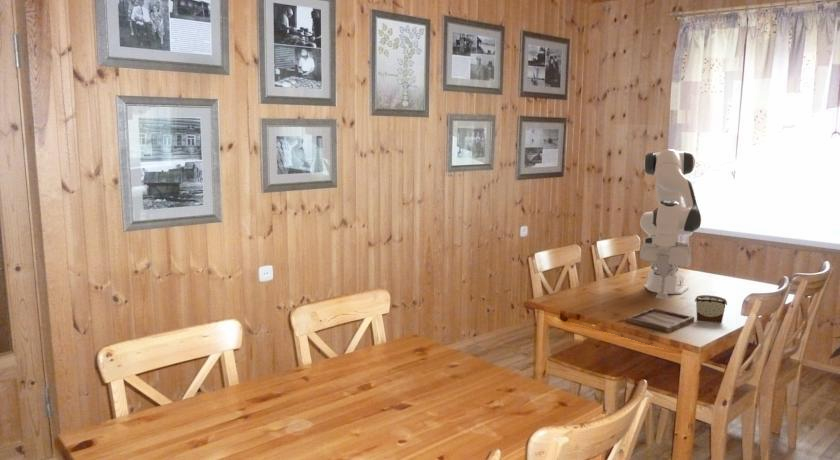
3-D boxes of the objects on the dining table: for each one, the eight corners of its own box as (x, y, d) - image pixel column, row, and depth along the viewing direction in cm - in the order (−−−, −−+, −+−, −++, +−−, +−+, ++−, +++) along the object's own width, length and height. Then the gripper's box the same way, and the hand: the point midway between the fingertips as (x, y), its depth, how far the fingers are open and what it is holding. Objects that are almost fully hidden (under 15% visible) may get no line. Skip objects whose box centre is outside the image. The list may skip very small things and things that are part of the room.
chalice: (667, 295, 260) (670, 253, 257) (674, 299, 253) (677, 256, 250) (650, 295, 259) (653, 252, 257) (656, 299, 253) (659, 256, 250)
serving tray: (652, 312, 272) (653, 307, 271) (693, 321, 259) (694, 317, 258) (626, 322, 257) (627, 317, 257) (668, 332, 244) (669, 327, 244)
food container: (723, 319, 262) (725, 296, 260) (725, 323, 256) (727, 300, 255) (691, 316, 266) (693, 293, 264) (693, 320, 260) (694, 297, 259)
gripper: (695, 243, 247) (692, 277, 249) (646, 236, 262) (644, 268, 264) (688, 245, 243) (685, 279, 245) (639, 238, 258) (637, 270, 260)
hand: (663, 274), depth 255 cm, fingers closed on chalice, 5 cm apart
